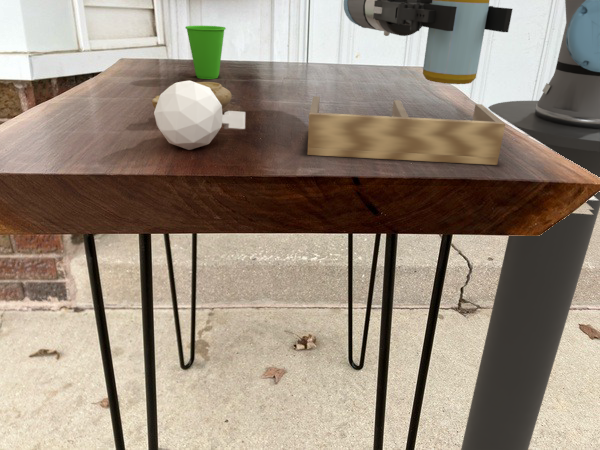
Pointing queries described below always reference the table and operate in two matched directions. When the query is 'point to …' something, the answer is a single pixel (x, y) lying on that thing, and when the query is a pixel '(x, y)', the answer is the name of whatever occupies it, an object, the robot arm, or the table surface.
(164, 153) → the table surface
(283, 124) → the table surface
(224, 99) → the oil lamp
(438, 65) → the bottle
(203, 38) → the cup
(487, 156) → the rack
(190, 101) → the perfume bottle
